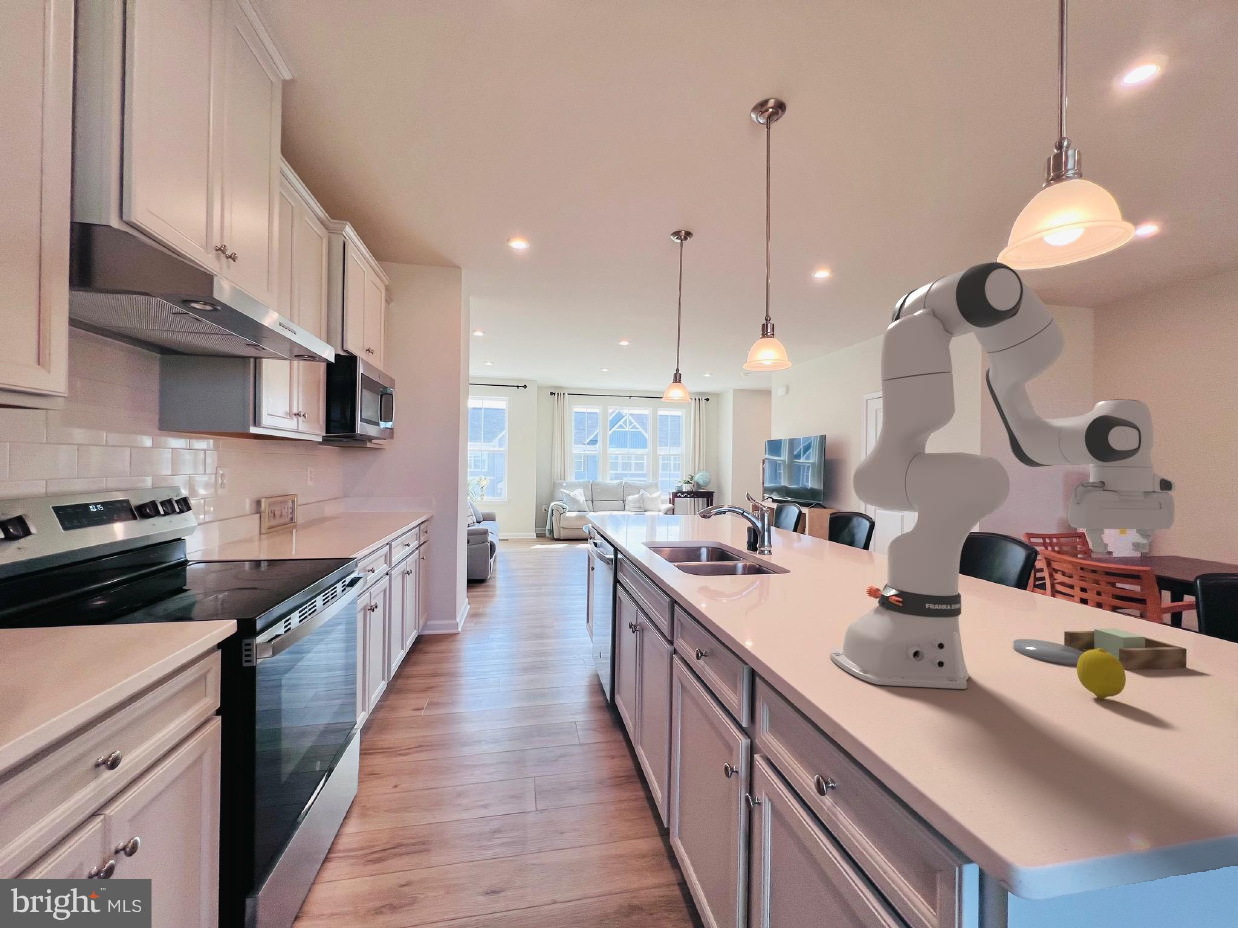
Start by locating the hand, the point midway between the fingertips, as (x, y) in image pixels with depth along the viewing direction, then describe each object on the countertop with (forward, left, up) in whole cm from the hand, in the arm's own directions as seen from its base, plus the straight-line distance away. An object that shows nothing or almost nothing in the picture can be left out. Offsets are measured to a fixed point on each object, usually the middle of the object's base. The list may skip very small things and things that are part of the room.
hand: (1120, 551), depth 96 cm
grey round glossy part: (-13, +2, -21) cm, 25 cm away
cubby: (0, 0, -21) cm, 21 cm away
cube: (0, 0, -21) cm, 21 cm away
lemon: (-25, -16, -21) cm, 36 cm away
